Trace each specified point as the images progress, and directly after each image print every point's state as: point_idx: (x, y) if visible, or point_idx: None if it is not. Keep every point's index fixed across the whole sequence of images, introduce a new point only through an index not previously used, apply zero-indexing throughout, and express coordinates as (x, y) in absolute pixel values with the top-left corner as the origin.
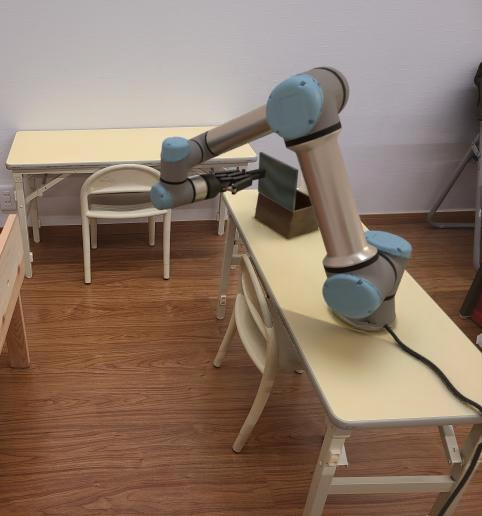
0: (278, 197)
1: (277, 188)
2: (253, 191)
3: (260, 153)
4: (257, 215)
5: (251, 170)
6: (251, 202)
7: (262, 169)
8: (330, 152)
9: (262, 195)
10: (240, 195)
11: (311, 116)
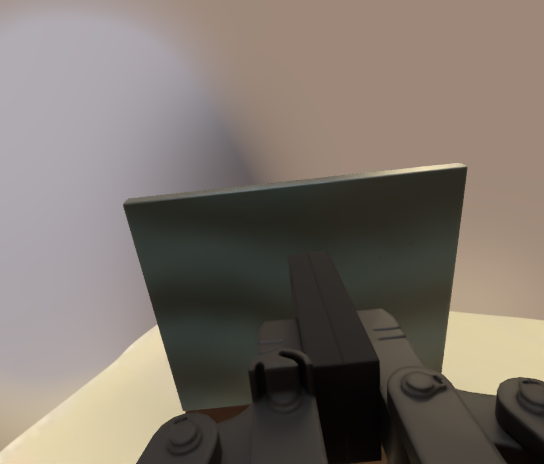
0: None
1: None
2: (71, 404)
3: (134, 207)
4: None
5: (300, 317)
6: (111, 451)
7: (316, 262)
8: None
9: (217, 412)
10: (40, 458)
11: None
